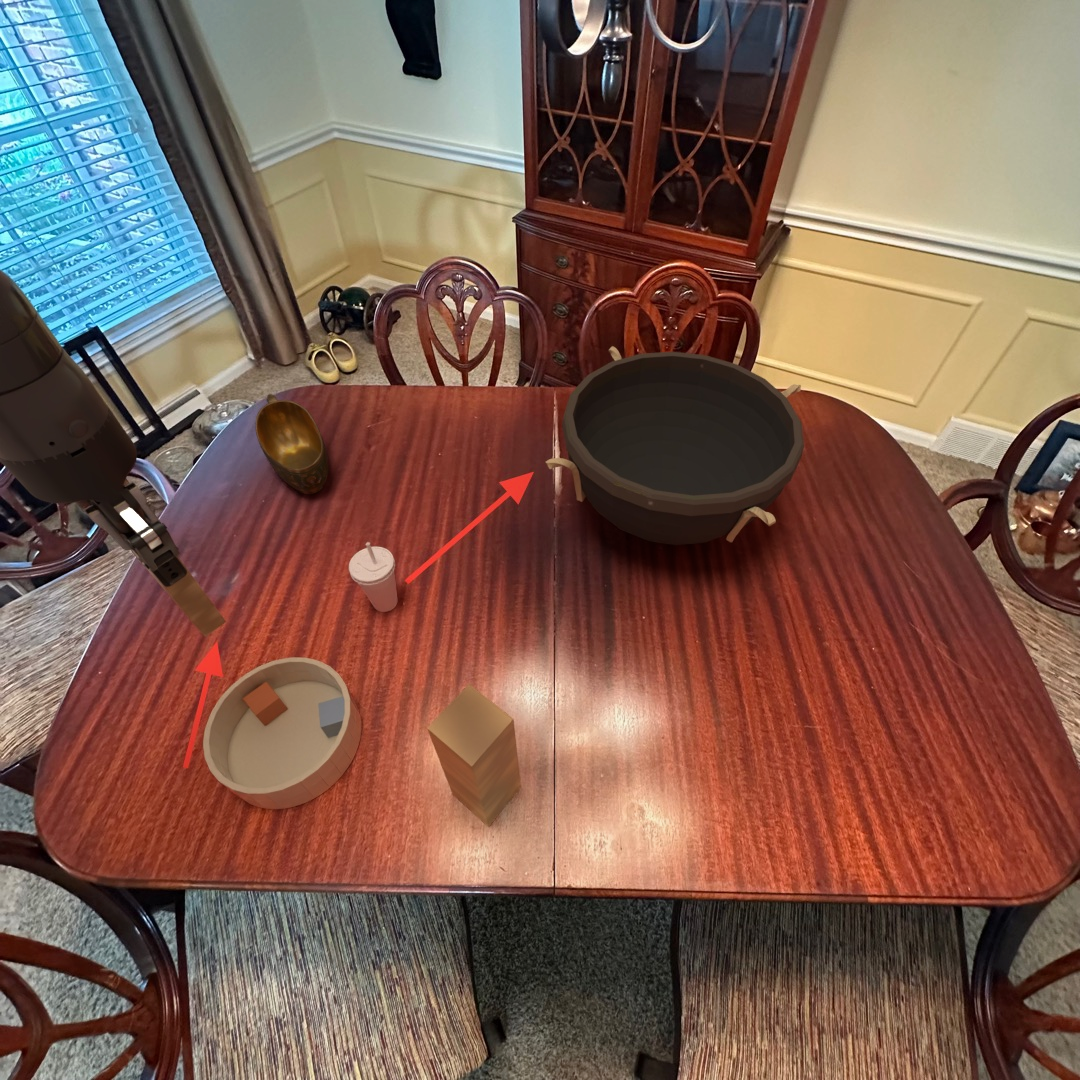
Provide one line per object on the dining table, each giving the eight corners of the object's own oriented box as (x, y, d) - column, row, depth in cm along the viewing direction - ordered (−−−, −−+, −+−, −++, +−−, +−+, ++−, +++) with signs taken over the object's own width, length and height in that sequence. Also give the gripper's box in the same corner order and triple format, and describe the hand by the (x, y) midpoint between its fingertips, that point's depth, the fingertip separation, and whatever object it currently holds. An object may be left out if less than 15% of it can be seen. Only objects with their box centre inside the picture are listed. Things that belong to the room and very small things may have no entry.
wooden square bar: (205, 637, 61) (133, 549, 51) (192, 624, 62) (119, 536, 52) (226, 621, 62) (160, 533, 52) (213, 609, 63) (146, 520, 53)
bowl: (780, 468, 110) (817, 375, 95) (750, 621, 89) (792, 533, 74) (596, 424, 119) (603, 333, 104) (529, 555, 98) (525, 464, 82)
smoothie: (399, 622, 90) (378, 564, 79) (358, 616, 90) (332, 559, 80) (411, 587, 94) (393, 528, 83) (372, 582, 95) (349, 523, 84)
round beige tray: (277, 841, 70) (258, 826, 66) (197, 749, 78) (175, 730, 73) (389, 729, 79) (379, 709, 74) (307, 656, 86) (294, 634, 82)
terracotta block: (265, 726, 79) (255, 715, 76) (252, 709, 80) (242, 698, 78) (288, 708, 80) (279, 697, 78) (275, 692, 82) (266, 680, 79)
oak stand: (488, 827, 71) (471, 766, 56) (452, 794, 74) (426, 727, 58) (521, 786, 74) (513, 718, 59) (485, 756, 77) (469, 683, 61)
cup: (346, 430, 119) (332, 387, 111) (331, 503, 106) (313, 460, 98) (280, 434, 118) (261, 391, 111) (256, 507, 105) (233, 465, 98)
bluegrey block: (328, 738, 78) (320, 727, 75) (325, 714, 80) (318, 703, 77) (354, 730, 78) (347, 719, 76) (351, 706, 81) (344, 695, 78)
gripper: (-49, 410, 43) (91, 559, 56) (34, 496, 37) (168, 639, 51) (58, 362, 47) (166, 513, 60) (148, 434, 41) (246, 583, 54)
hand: (167, 570), depth 55 cm, fingers closed on wooden square bar, 2 cm apart
